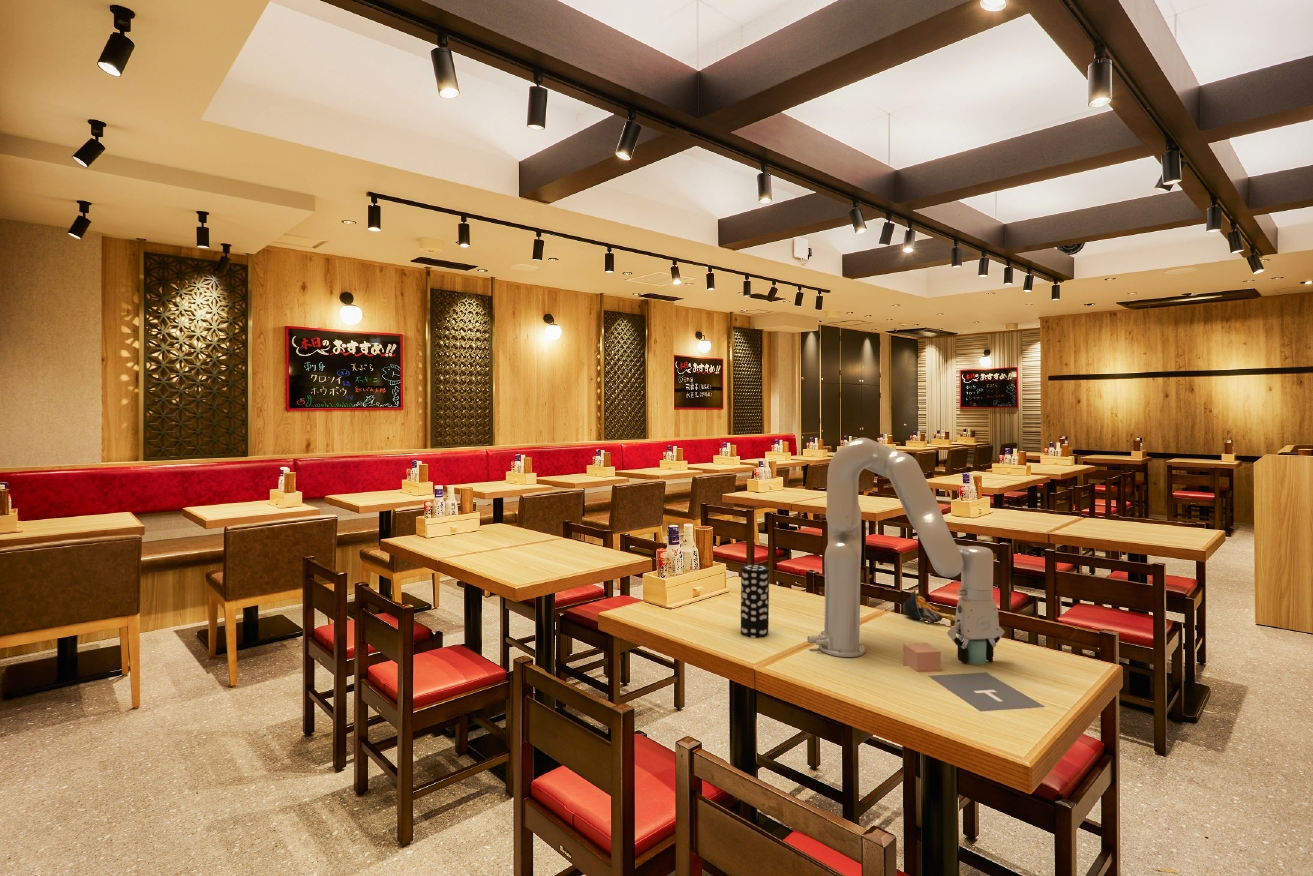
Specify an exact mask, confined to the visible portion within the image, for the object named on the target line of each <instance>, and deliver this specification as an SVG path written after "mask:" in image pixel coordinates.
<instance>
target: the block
mask: <svg viewBox="0 0 1313 876" xmlns="http://www.w3.org/2000/svg"><path fill="white" fill-rule="evenodd" d="M902 645H903V650H902V653H903V654H902V658H903V659H902V662H903V663H902V667H909V668H911V669H912V670H914V672H917V673H920V672H936V671H938V672H939V671H941V667H942V666H941V662H942V661H941V658H942V657H941V656H942V654H941V652H942V651H941V650H939V649H938V648H936V647H935V646H932V645H931V644H929V643H927V642H918V643H914V642H913V643H903V644H902Z"/></svg>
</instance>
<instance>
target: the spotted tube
mask: <svg viewBox="0 0 1313 876" xmlns="http://www.w3.org/2000/svg"><path fill="white" fill-rule="evenodd" d="M740 568H741V571H740V574H741V575H740V578H741V579H740V580H741V581H740V582H741V583H740V589H741V590H740V634H741V635H742V636H744V637H747V638H750V639H751V638H753V639H762V637H763V638H765V636H766V637H768V636H769V626H770V625H769V614H770V613H769V607H770V567H769V566H766V565H761V564H744V565H742V566H741V567H740ZM767 635H768V636H767Z"/></svg>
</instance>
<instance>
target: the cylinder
mask: <svg viewBox="0 0 1313 876" xmlns="http://www.w3.org/2000/svg"><path fill="white" fill-rule="evenodd" d="M966 648H967V649H968V663H967V664H970V665H973V666H978V667H979V666H980V667H981V666H982V667H983V666H985V665H986V664H987V660H986V640H985V639H977V640H969V641H968V644H967V646H966Z"/></svg>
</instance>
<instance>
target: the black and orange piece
mask: <svg viewBox="0 0 1313 876" xmlns="http://www.w3.org/2000/svg"><path fill="white" fill-rule="evenodd" d="M902 608H903V614H904V615H905V616H907V617H911V618H912V619H914V620H921V621H923V622H924V621H928V622H932V623H938V622H941V621H942V620H943V619H946V620H948V621H954V622H955V617H956V615H954V614H949V613H948V614H947V613H944V612H939V611H940V610H941V608H938V607H935V606H934V605H932V604H930V603H928V602H926V599H925V598H924V597H923V596H922V595H921V593H919V592H916V593H915V595H911V596H909V597H908V598H907V600H906V601H905V602H903V604H902Z"/></svg>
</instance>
